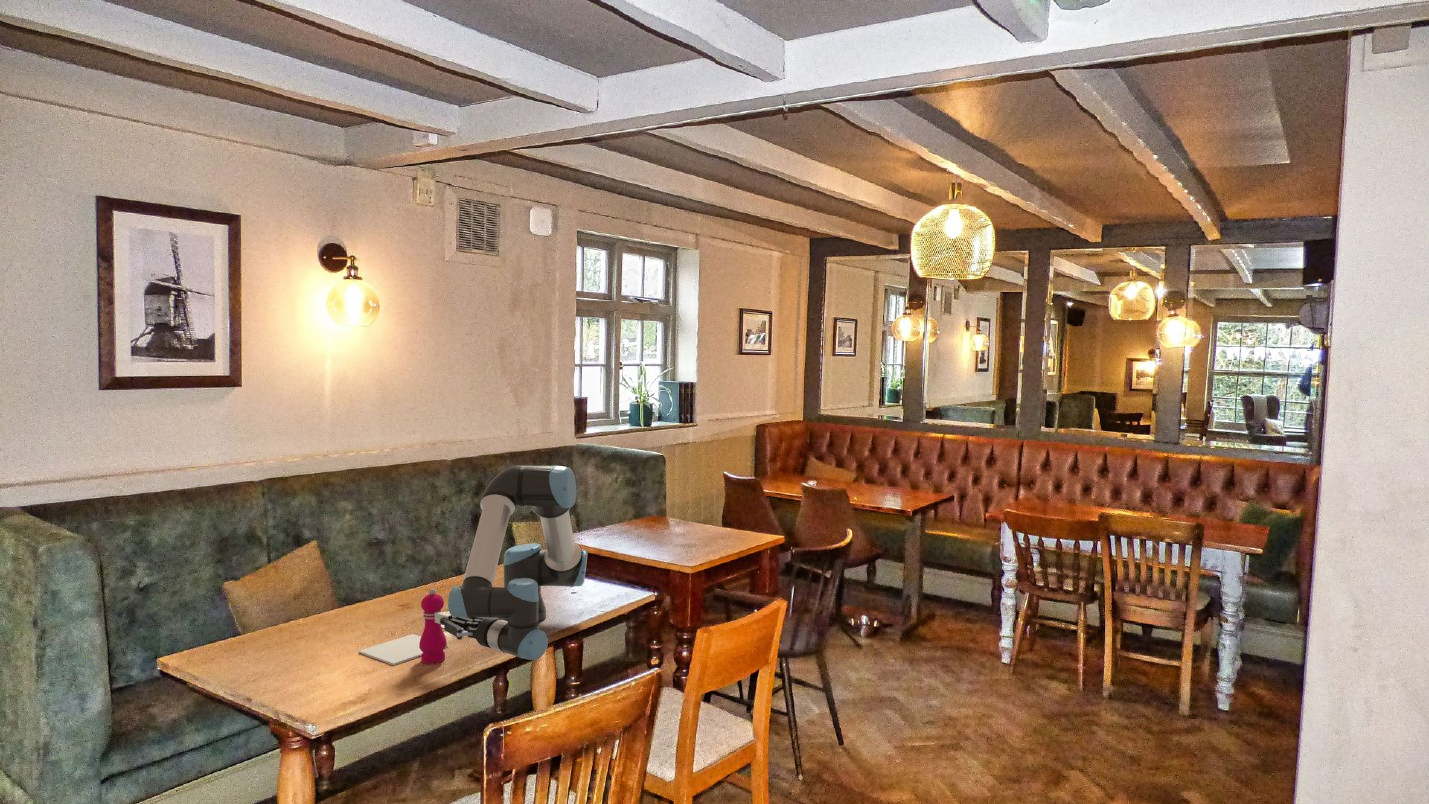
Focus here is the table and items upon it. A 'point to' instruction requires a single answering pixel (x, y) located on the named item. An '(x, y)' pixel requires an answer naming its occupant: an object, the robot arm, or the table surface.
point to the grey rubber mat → (396, 650)
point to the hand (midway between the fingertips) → (437, 616)
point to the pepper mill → (432, 630)
